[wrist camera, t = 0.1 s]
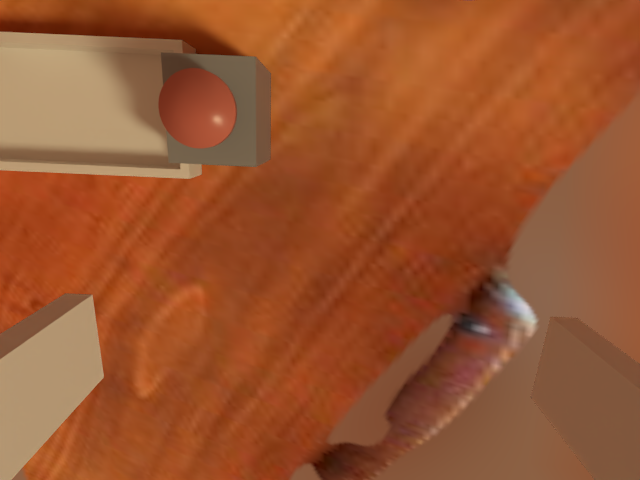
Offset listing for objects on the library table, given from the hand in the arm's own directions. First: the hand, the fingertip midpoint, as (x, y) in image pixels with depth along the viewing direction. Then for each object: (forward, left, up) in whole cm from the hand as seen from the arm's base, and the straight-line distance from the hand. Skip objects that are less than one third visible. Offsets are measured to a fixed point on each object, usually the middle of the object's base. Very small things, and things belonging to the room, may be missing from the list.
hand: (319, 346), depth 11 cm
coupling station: (-7, -25, -28) cm, 39 cm away
